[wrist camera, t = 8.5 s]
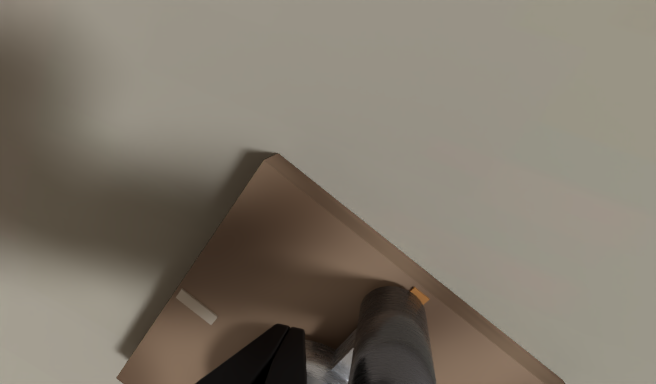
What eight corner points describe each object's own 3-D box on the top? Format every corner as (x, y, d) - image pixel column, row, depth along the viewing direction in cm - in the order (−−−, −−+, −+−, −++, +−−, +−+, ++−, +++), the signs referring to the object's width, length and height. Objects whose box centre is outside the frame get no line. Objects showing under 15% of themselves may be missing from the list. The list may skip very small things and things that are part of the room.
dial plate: (562, 380, 13) (584, 416, 11) (342, 513, 18) (338, 551, 16) (278, 153, 12) (262, 160, 11) (138, 355, 18) (115, 379, 16)
